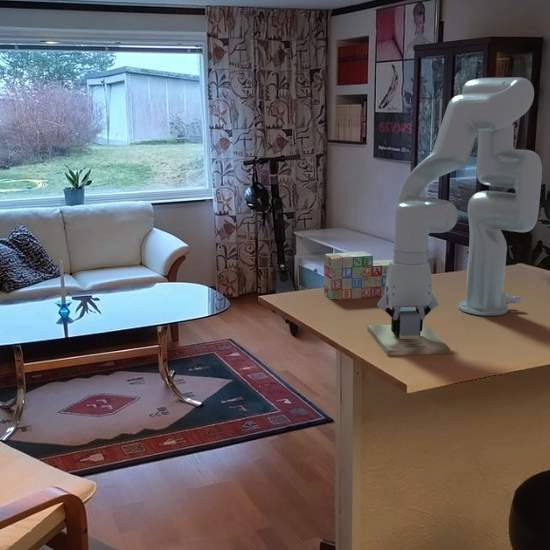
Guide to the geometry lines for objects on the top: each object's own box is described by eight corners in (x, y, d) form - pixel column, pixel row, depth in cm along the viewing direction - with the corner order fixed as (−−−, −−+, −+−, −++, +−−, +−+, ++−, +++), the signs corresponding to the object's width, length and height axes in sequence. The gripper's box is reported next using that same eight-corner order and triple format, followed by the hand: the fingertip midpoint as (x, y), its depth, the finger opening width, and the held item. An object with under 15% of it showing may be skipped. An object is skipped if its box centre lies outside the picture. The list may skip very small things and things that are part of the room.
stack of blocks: (391, 290, 209) (393, 249, 206) (400, 295, 203) (402, 253, 200) (323, 294, 203) (324, 253, 200) (330, 300, 197) (332, 257, 194)
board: (423, 328, 173) (423, 323, 172) (449, 353, 155) (450, 348, 155) (367, 330, 171) (367, 325, 171) (387, 355, 154) (387, 350, 153)
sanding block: (408, 328, 168) (410, 305, 167) (419, 338, 161) (420, 315, 159) (391, 328, 168) (392, 306, 167) (401, 339, 160) (402, 316, 159)
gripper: (440, 253, 163) (436, 328, 168) (369, 254, 162) (367, 330, 166) (452, 260, 156) (447, 338, 160) (377, 261, 154) (374, 341, 159)
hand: (406, 333), depth 163 cm, fingers closed on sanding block, 4 cm apart
